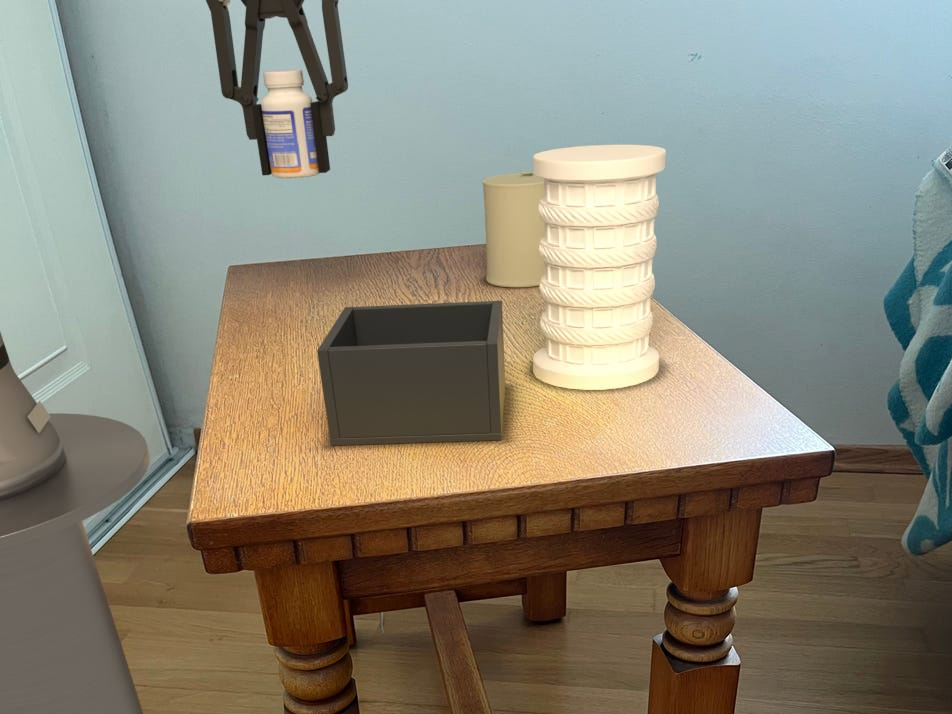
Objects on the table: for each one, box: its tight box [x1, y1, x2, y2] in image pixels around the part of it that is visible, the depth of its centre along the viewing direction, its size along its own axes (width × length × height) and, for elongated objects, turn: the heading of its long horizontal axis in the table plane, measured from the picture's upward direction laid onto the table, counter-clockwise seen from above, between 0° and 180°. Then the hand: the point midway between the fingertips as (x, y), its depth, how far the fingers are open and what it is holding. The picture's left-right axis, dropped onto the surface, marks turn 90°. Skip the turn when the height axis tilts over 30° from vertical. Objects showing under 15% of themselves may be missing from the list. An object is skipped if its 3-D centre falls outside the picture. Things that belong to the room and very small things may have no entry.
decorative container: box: [532, 144, 667, 391], centre depth 82 cm, size 12×12×18 cm
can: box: [482, 171, 545, 288], centre depth 115 cm, size 9×9×12 cm
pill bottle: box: [260, 69, 320, 179], centre depth 99 cm, size 5×5×10 cm
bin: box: [316, 300, 506, 447], centre depth 77 cm, size 14×13×8 cm
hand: (296, 172), depth 101 cm, fingers closed on pill bottle, 5 cm apart
